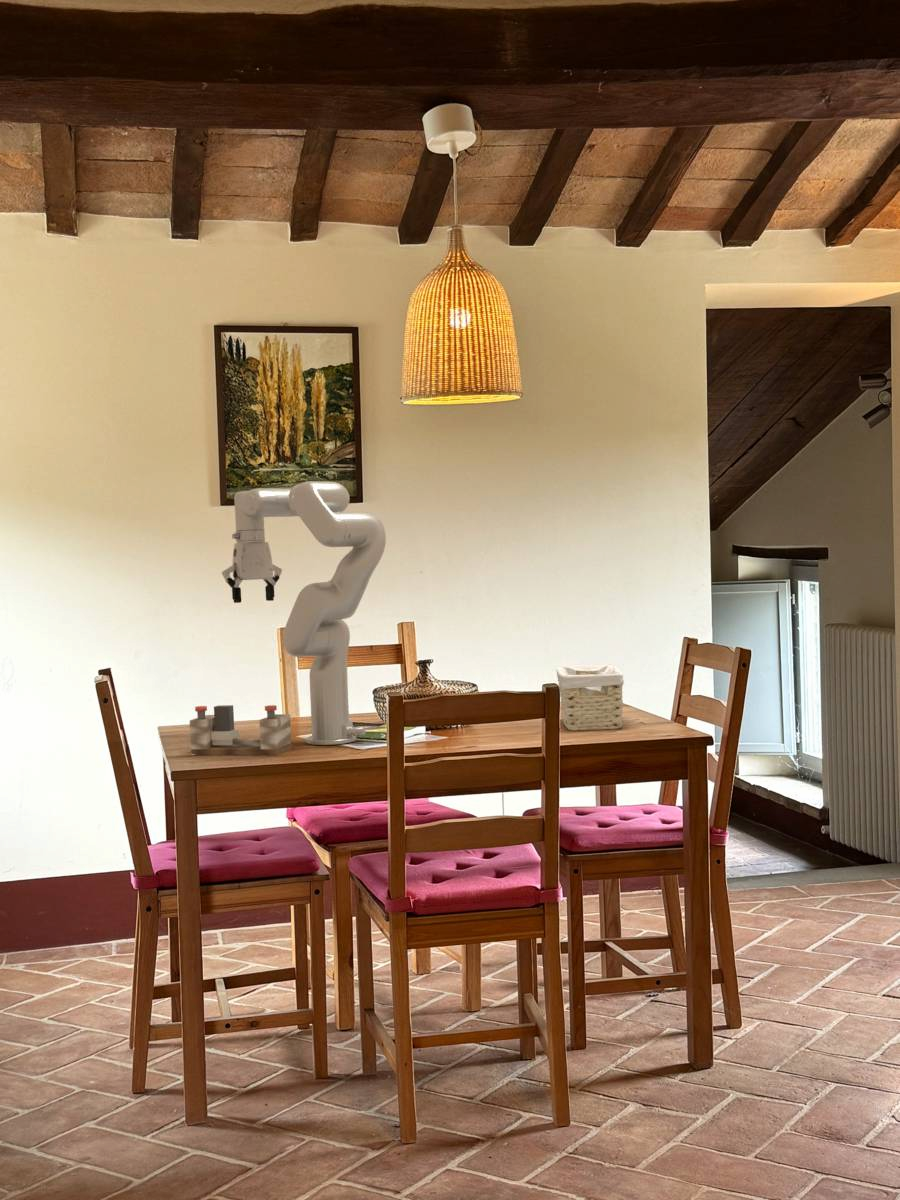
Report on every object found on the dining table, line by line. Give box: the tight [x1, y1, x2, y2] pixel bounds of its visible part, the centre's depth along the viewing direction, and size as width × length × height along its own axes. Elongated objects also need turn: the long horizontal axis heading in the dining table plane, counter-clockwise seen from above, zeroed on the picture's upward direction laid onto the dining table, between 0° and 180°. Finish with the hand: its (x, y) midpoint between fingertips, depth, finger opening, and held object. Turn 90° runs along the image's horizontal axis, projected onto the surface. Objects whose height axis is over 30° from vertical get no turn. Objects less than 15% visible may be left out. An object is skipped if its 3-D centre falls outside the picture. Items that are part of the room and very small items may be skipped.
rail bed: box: [189, 713, 292, 756], centre depth 315 cm, size 22×10×8 cm, turn 77°
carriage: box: [211, 704, 239, 745], centre depth 316 cm, size 5×5×9 cm
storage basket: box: [555, 664, 625, 732], centre depth 340 cm, size 24×16×15 cm
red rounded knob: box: [194, 705, 208, 720], centre depth 314 cm, size 3×3×4 cm
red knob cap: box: [264, 704, 278, 719], centre depth 310 cm, size 3×3×4 cm
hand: (253, 601), depth 345 cm, fingers open, 9 cm apart
